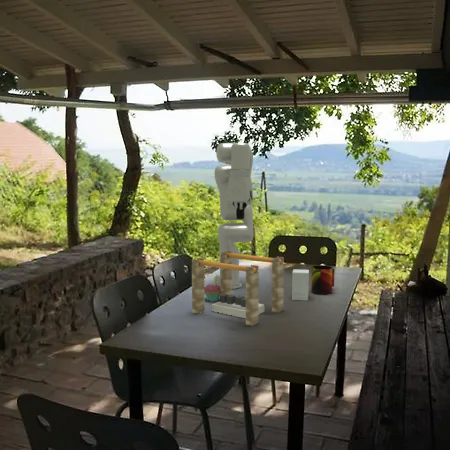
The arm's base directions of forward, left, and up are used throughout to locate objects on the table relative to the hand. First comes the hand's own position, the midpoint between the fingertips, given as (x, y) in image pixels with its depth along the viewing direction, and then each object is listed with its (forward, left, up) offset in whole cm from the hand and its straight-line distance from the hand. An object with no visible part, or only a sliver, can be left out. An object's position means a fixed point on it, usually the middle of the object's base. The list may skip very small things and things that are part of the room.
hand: (240, 218), depth 202 cm
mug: (+16, +47, -39) cm, 63 cm away
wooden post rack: (+1, -3, -38) cm, 38 cm away
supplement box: (+13, +30, -39) cm, 51 cm away
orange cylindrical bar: (+1, +7, -17) cm, 19 cm away
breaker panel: (+1, -3, -38) cm, 38 cm away
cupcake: (-18, +5, -39) cm, 43 cm away
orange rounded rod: (+1, -13, -17) cm, 22 cm away
